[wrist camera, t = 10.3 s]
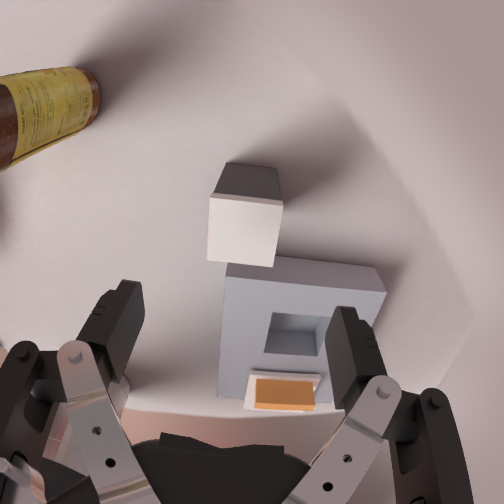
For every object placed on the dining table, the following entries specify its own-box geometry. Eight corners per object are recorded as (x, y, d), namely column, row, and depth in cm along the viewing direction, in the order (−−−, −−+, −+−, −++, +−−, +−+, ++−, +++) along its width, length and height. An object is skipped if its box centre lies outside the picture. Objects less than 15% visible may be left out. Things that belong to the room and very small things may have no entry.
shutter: (243, 405, 34) (241, 430, 31) (250, 370, 30) (248, 398, 27) (303, 408, 34) (305, 432, 31) (320, 374, 30) (324, 401, 27)
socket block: (220, 371, 37) (216, 396, 34) (230, 250, 28) (225, 276, 24) (326, 378, 38) (329, 403, 34) (374, 267, 28) (387, 292, 25)
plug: (221, 208, 26) (206, 259, 19) (225, 162, 24) (210, 197, 17) (269, 214, 26) (272, 267, 19) (277, 168, 24) (283, 206, 17)
